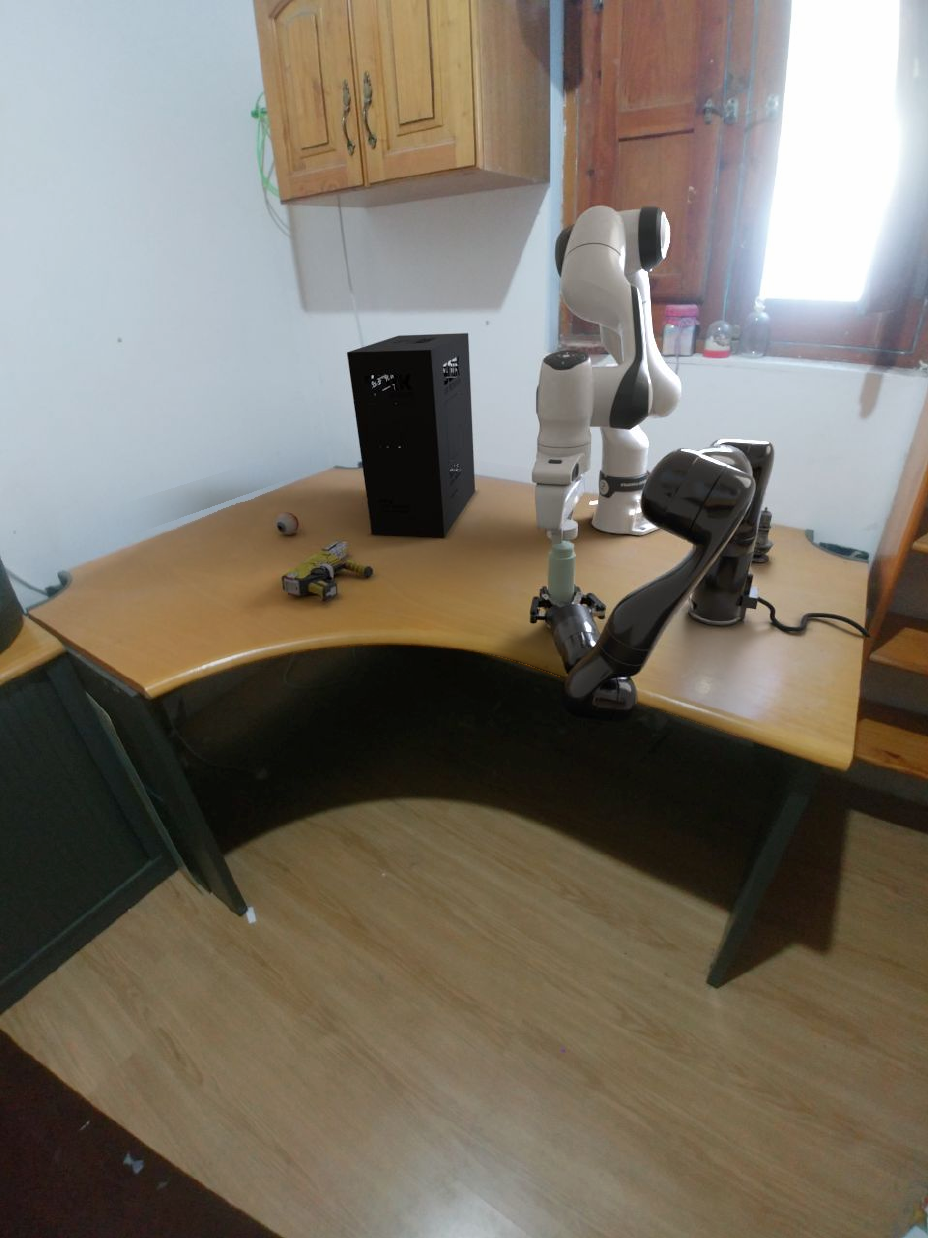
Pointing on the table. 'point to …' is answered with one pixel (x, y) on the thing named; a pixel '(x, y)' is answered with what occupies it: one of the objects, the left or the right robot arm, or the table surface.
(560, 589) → the jar
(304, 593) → the toy gun
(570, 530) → the lid
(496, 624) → the table surface
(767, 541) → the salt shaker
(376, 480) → the black boxy piece
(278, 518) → the eyeball
